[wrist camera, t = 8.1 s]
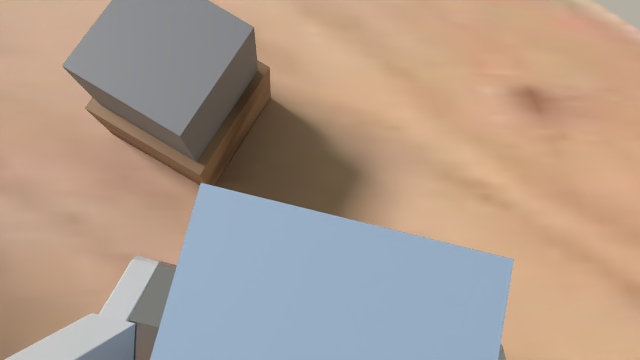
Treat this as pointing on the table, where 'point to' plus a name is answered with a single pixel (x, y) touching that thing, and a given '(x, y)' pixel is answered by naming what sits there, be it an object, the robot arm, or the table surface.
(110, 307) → the robot arm
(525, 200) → the table surface
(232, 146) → the tower base
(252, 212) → the pillar
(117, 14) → the tower middle
